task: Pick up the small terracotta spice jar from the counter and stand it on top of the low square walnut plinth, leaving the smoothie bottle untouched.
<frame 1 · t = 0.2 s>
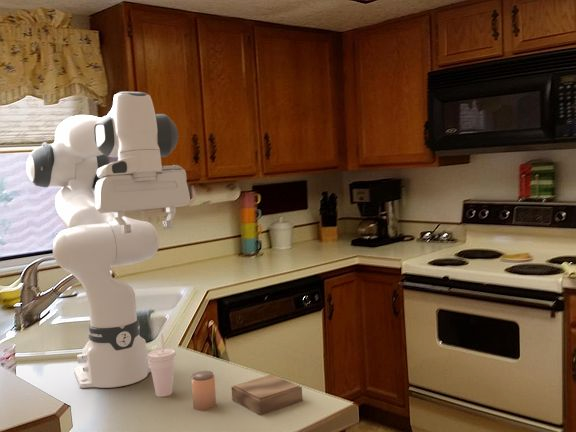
hand: (147, 231, 130), 38 cm above the worktop, tool pointing down, fingers open, 8 cm apart
smoothie: (164, 394, 140), on the worktop
jar: (204, 405, 131), on the worktop
plinth: (267, 400, 132), on the worktop
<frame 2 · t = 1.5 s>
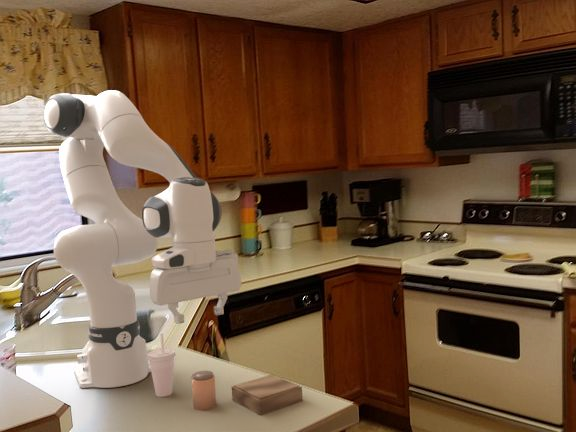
hand: (199, 318, 130), 19 cm above the worktop, tool pointing down, fingers open, 8 cm apart
nothing on the worktop moved.
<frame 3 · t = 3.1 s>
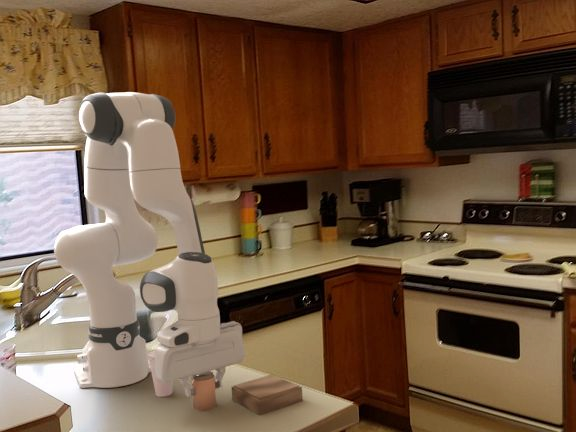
hand: (203, 391, 131), 3 cm above the worktop, tool pointing down, fingers closed on jar, 5 cm apart
jar: (204, 405, 131), on the worktop, touching gripper
everything else where it was.
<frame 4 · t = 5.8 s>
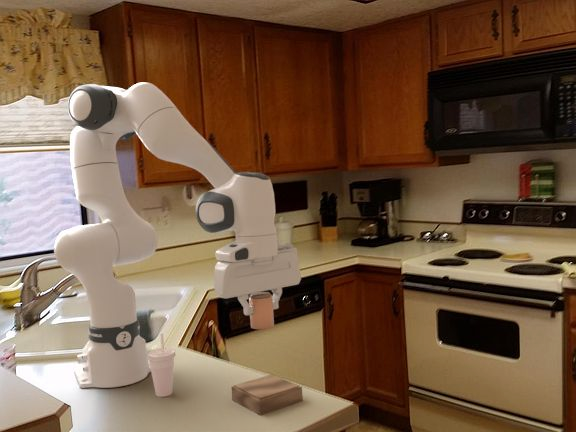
hand: (261, 311, 131), 20 cm above the worktop, tool pointing down, fingers closed on jar, 5 cm apart
jar: (262, 326, 131), point 17 cm above the worktop, touching gripper
everything else where it was.
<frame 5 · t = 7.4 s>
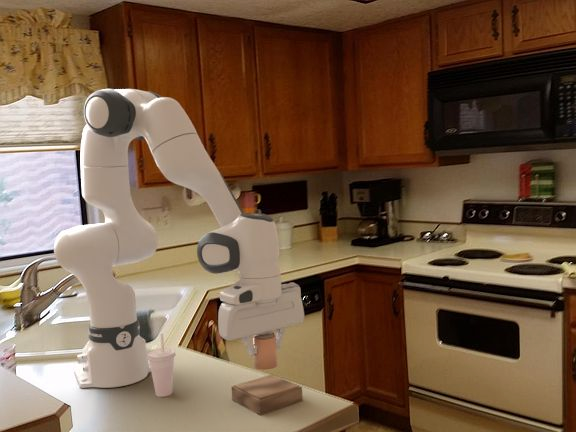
hand: (264, 351, 131), 11 cm above the worktop, tool pointing down, fingers closed on jar, 5 cm apart
jar: (265, 365, 131), point 8 cm above the worktop, touching gripper
everything else where it was.
when the fingers open (8 cm above the worktop, at t = 8.5 s): jar drops 1 cm, resting on plinth.
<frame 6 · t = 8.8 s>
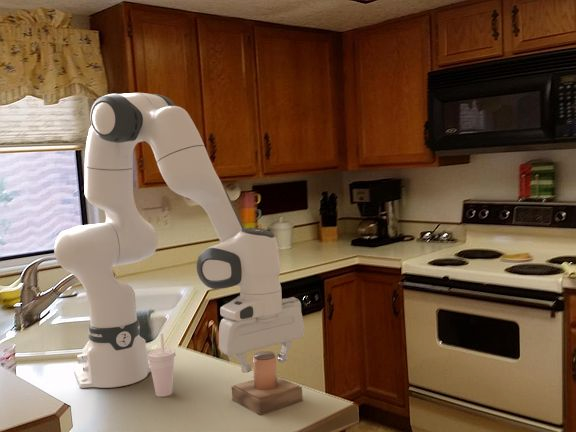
hand: (265, 366, 132), 8 cm above the worktop, tool pointing down, fingers open, 8 cm apart
jar: (265, 385, 132), point 3 cm above the worktop, touching plinth
everything else where it was.
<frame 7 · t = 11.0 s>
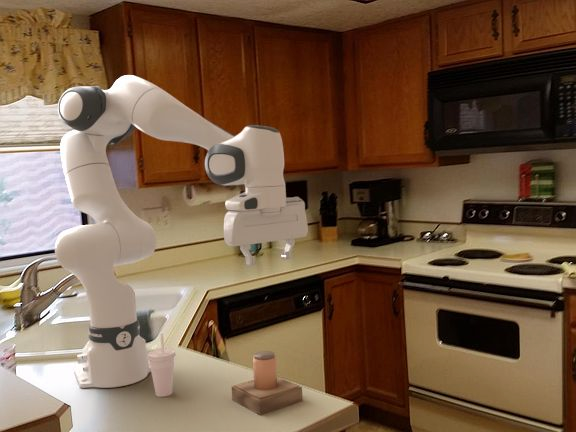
hand: (268, 261, 134), 30 cm above the worktop, tool pointing down, fingers open, 8 cm apart
nothing on the worktop moved.
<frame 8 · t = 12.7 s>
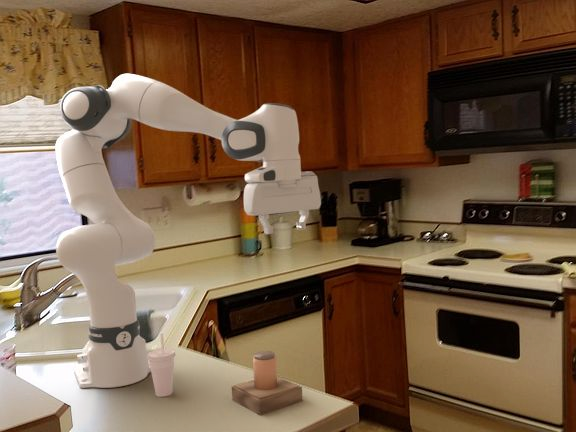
hand: (285, 231, 143), 35 cm above the worktop, tool pointing down, fingers open, 8 cm apart
nothing on the worktop moved.
at the end: jar inside the target area on the plinth (0.1 cm from its centre), point 3.3 cm above the plinth's base; jar tilted 1°; the gripper is holding nothing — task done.
